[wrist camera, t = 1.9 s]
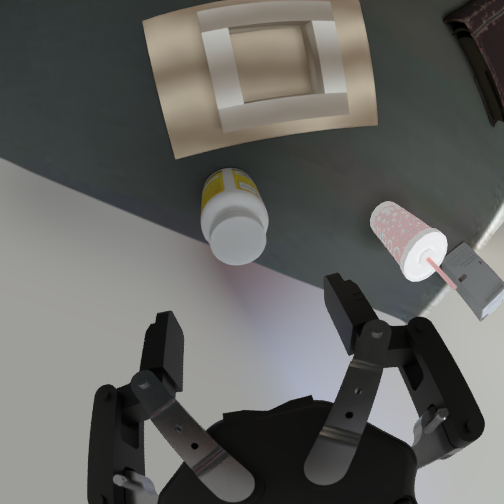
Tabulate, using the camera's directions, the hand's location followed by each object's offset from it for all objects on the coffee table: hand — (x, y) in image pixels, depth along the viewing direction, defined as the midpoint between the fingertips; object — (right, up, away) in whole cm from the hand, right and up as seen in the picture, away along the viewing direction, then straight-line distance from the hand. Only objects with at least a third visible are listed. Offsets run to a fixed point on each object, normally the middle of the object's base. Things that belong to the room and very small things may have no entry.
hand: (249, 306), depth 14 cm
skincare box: (+34, +2, +24) cm, 42 cm away
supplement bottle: (-2, +9, +14) cm, 16 cm away
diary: (+38, +34, +4) cm, 52 cm away
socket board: (+2, +20, +7) cm, 21 cm away
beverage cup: (+17, +7, +18) cm, 25 cm away
